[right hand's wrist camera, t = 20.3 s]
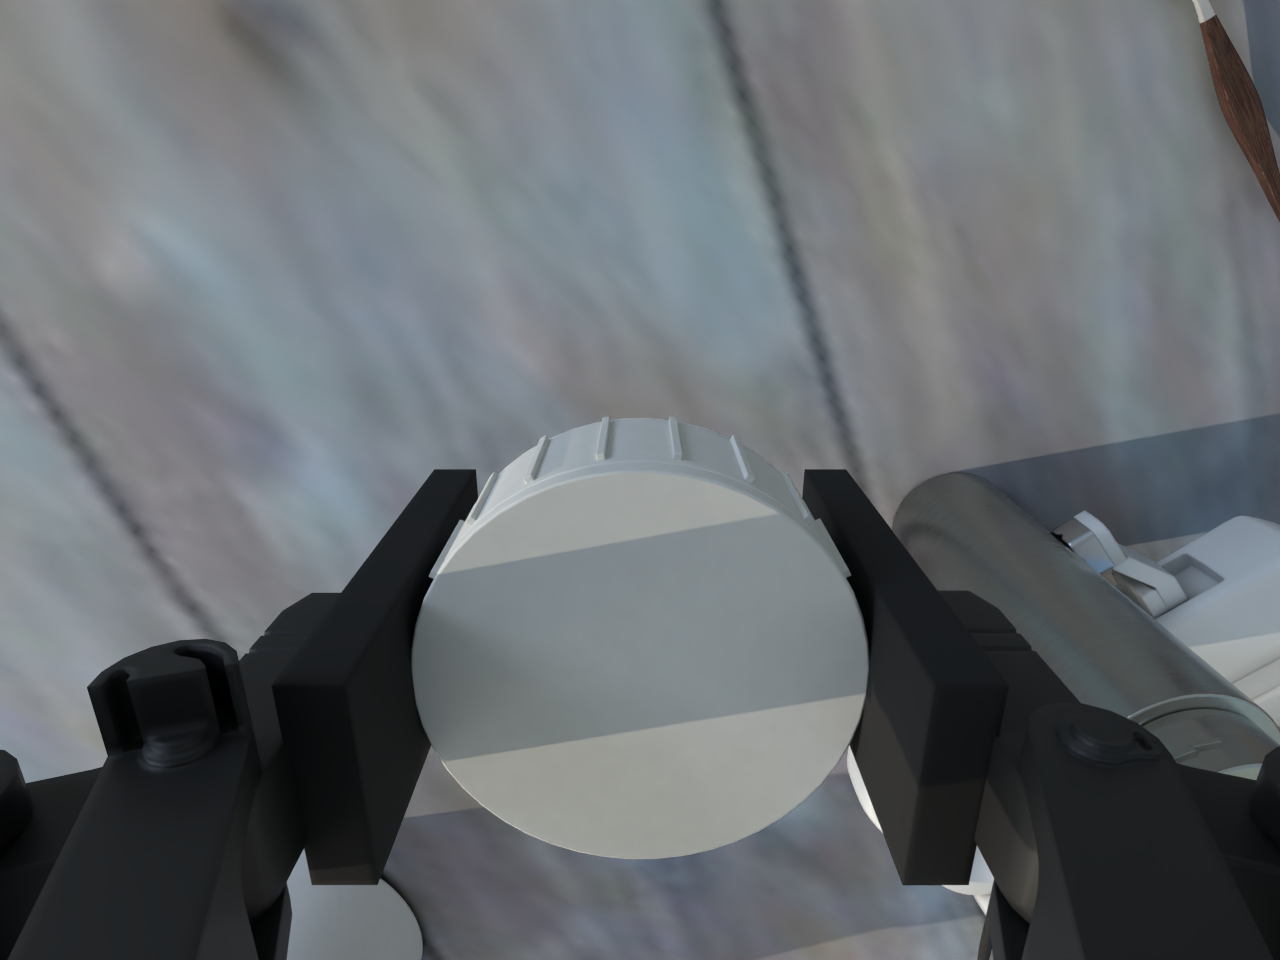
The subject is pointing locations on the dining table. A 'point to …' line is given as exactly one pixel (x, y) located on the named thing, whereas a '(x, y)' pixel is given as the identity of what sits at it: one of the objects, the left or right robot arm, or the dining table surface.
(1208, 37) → the fork
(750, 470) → the lid
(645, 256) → the dining table surface
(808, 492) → the right robot arm
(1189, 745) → the jar
